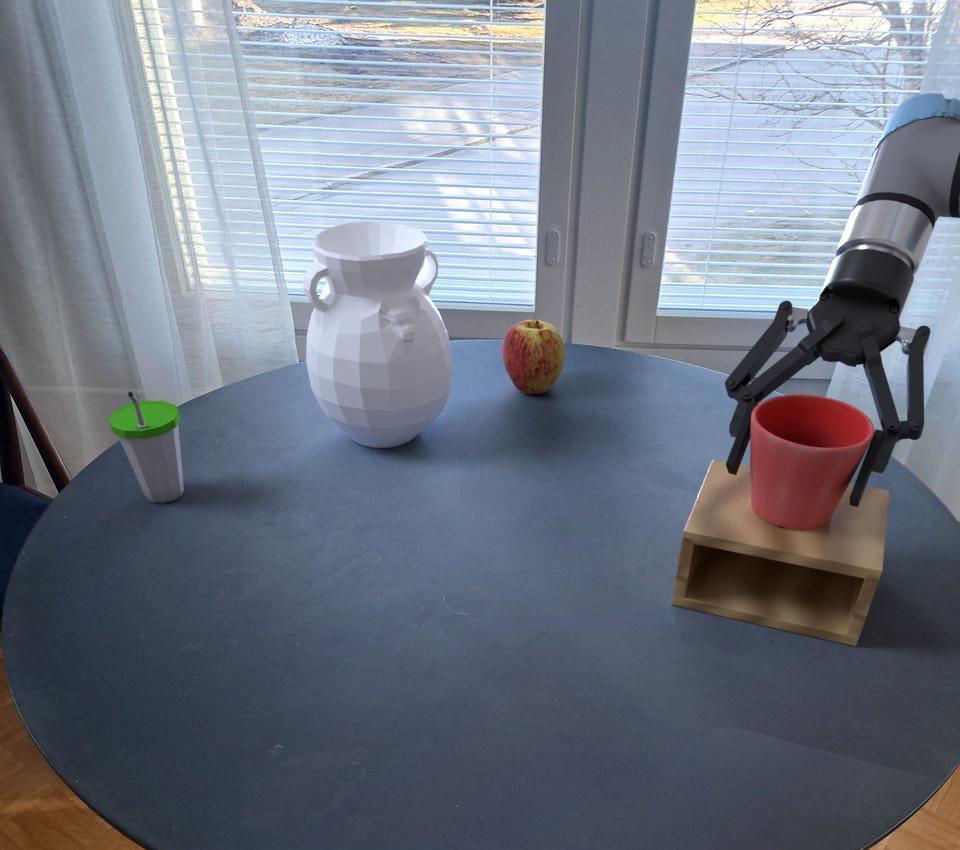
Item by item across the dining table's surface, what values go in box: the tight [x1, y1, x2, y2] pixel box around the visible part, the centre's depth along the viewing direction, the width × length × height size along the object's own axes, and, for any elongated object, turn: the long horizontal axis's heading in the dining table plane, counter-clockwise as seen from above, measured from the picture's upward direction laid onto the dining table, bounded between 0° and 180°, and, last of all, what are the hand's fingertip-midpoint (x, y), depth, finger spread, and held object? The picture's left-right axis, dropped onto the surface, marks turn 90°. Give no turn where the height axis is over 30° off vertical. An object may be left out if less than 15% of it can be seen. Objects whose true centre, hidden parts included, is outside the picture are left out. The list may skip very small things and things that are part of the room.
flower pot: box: [749, 393, 875, 530], centre depth 86 cm, size 11×11×10 cm
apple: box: [501, 319, 566, 395], centre depth 128 cm, size 9×9×10 cm
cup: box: [107, 391, 185, 504], centre depth 104 cm, size 8×8×15 cm
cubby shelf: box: [671, 459, 891, 647], centre depth 92 cm, size 18×15×9 cm
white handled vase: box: [302, 221, 454, 449], centre depth 113 cm, size 19×18×25 cm
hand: (790, 485), depth 84 cm, fingers closed on flower pot, 11 cm apart
